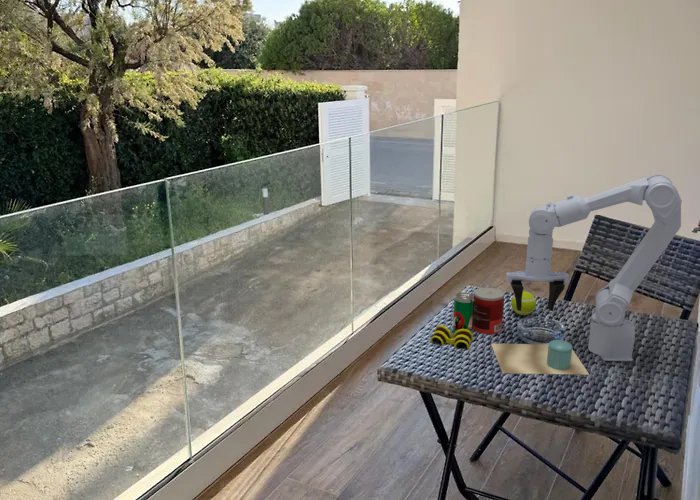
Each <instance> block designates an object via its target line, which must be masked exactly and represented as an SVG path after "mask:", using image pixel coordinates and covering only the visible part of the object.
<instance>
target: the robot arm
mask: <svg viewBox="0 0 700 500" xmlns="http://www.w3.org/2000/svg"><path fill="white" fill-rule="evenodd" d="M643 201H644V202H645V203H646V205H647V206H648V207H649V208H650V210H651V213H652V216H653V220H654V222H653V224H652V225H651V227H650V228H649V229H648V231H647V232H646V234H644V236H643V238H642V239H641V240H640V243H638V245H637V247H635V249H634V251H633V252H632V253H631V255H630V256H629V258H628V260H627V261H626V262H625V263H624V264H623V266H622V268H621V269H620V270H619V272H618V273H617V275H616V276H615V277H614V278H612V279H611V280H610V281H609V282H608V284H607V285H605V286H604V287H602V288H601V289H599V290H598V291H597V292H596V293H595V296H594V303H595V311H594V312H593V313H592V315H591V320H590V328H589V337H588V343H587V344H588V347H587V348H588V350H589V351H590V352H591V353H592V354H594V355H597V356H600V358H601V359H602V360H603V362H633V361H634V358H633V354H634V353H633V351H634V345H635V340H636V339H635V338H636V330H635V325H634V323H633V322H632V320H630V319H625V318H626V317H625V316H626V309H627V307H628V306H629V305H630V303H631V300H632V297H633V294H634V292H635V291H636V289H637V288H638V287H639V285H640V284H641V283H642V281H643V280H644V279H645V277H646V275H648V273H649V272H650V270H651V269H652V268H653V266H654V265H655V263H656V262H657V260H658V259H659V258H660V256H661V255H662V254H663V253H664V251H665V250H666V249H667V247H668V245H669V244H670V243H671V241H672V240H673V239H674V238H675V235H677V233H678V232H679V230H680V229H681V226H682V201H683V200H682V199H681V195H680V194H679V191H678V190H677V187H676V186H675V185H674V184H673V182H672V181H671V178H669V177H667V176H666V175H664V174H654V175H651V176H649V177H648V178H646V177H642V178H641V177H640V178H638V179H634V180H632V181H629V182H627V183H624V184H621V185H618V186H616V187H614V188H613V187H612V188H610V189H607V190H604V191H602V192H599V193H597V194H594V195H590V196H588V197H584V196H582V195H581V194H580V195H579V194H577V195H574V194H573V193H570V194H569V195H567V196H566V198H565V199H562V200H559V201H556V202H554V203H553V202H551V201H550V202H546V206H545V205H538V206H537V207H535V208H534V209H533V210H532V211H531V212H530V216H529V218H528V225H529V226H528V227H529V229H528V235H529V236H528V237H527V244H526V245H527V246H526V247H527V248H526V258H525V260H526V261H525V269H524V270H520V271H513V272H512V271H511V272H508V271H507V272H506V273H505V281H506V282H507V283H510V286H511V288H512V291H513V294H514V295H515V299H516V308H517V310H518V311H521V307H522V293H523V291H524V286H523V282H524V283H525V282H532V283H535V282H536V283H538V282H540V283H548V284H549V286H548V287H549V288H548V289H549V290H548V291H549V292H548V301H547V309H548V311H550V312H553V311H554V307H555V305H556V303H557V301H558V298H559V297H560V295H561V294H562V293H563V291H564V290H565V288H566V286H565V285H566V284H569V280H570V275H569V274H568V272H558V271H551V268H552V267H551V266H552V256H553V255H552V254H553V246H554V238H553V232H554V229H555V228H561V227H564V226H567V225H570V224H573V223H577V222H580V221H582V220H583V221H584V220H586V219H587V218H588V217H589V215H590V213H591V212H594V211H598V210H600V209H606V208H608V207H609V208H610V207H613V206H616V205H619V204H620V205H621V204H623V203H632V204H635V205H639V206H643V205H644V204H643ZM514 295H513V296H514Z"/></svg>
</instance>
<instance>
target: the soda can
mask: <svg viewBox="0 0 700 500" xmlns="http://www.w3.org/2000/svg"><path fill="white" fill-rule="evenodd" d="M473 297H474V294H472V293H470V292H457V293H456V294H455V297H454V298H453V313H452V315H453V316H452V336H453V335H454V333H455V332H456V331H457V330H460V329H467V330H469V331H470V332H471V333H472V334H473V335H474V330H473V321H474V303H475V300H474V298H473Z"/></svg>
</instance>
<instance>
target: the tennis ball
mask: <svg viewBox="0 0 700 500" xmlns="http://www.w3.org/2000/svg"><path fill="white" fill-rule="evenodd" d="M510 302H511V303H510V304H511V308H512V310H513V311H514V312H515V313H516V314H518V315H520V316H528V315H530V314H532V313H533V312H534V311H535V309H536V307H537V299H536V298H535V296H534V294H532V293H531V292H529V291H525V290H523V293H522V307H521V311H518V310H517V308H516V299H515V295H513V296H512V298H511V300H510Z"/></svg>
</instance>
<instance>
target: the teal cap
mask: <svg viewBox="0 0 700 500" xmlns="http://www.w3.org/2000/svg"><path fill="white" fill-rule="evenodd" d="M548 344H549V346H548V355H547V365H548V366H549V367H551V368H553V369H557V370H566V369H569V368H570V366H571V357H572V349H573V344H572V343H570V342H569V341H566V340H561V339H554V340H550V341H549V342H548Z"/></svg>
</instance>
